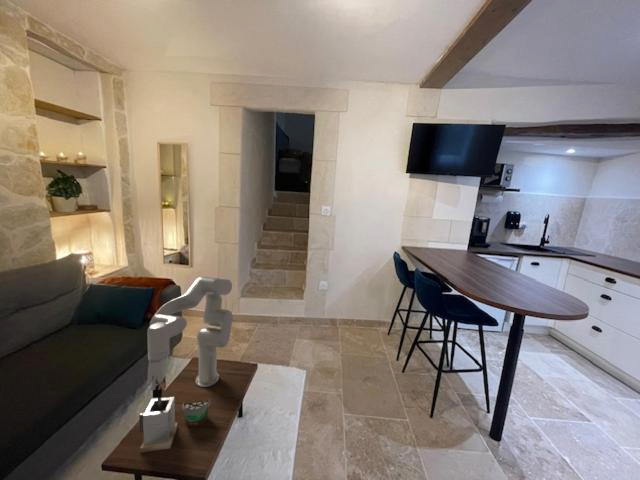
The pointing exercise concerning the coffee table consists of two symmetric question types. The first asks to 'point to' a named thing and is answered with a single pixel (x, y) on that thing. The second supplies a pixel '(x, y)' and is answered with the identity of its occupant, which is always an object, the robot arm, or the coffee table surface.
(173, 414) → the press sleeve
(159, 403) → the plunger
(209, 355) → the robot arm
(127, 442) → the coffee table surface
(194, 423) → the food container
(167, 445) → the base
